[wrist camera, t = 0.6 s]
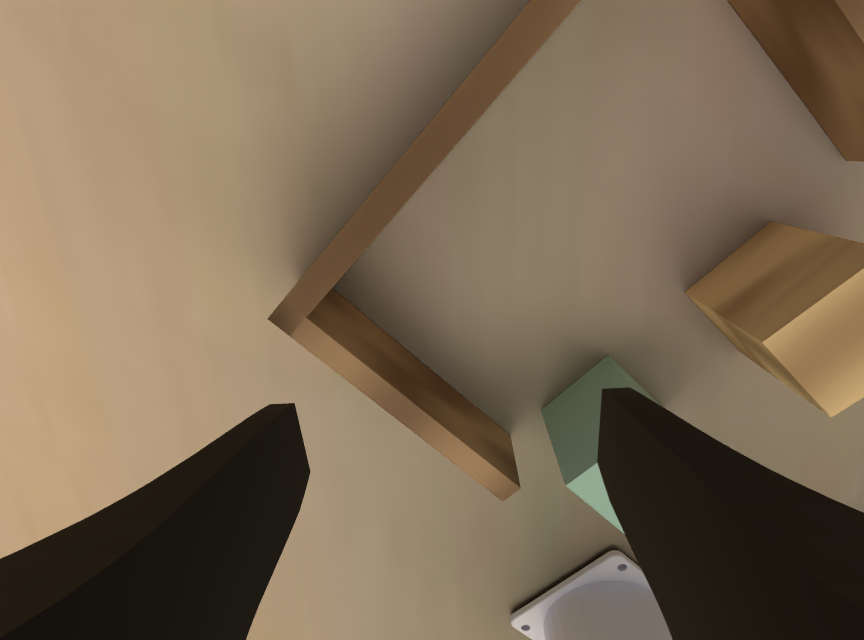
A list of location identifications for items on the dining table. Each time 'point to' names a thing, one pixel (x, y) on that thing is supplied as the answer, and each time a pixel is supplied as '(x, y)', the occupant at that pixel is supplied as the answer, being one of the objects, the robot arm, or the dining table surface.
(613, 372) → the teal block
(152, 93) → the dining table surface
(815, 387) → the oak block
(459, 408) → the corral
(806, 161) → the dining table surface
